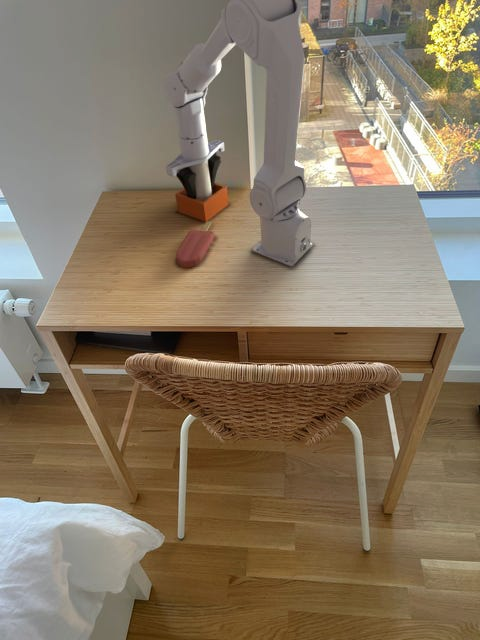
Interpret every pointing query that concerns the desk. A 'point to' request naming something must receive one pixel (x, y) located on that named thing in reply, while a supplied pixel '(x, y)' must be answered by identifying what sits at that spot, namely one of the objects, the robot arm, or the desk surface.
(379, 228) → the desk surface
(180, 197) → the orange open box
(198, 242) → the popsicle
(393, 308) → the desk surface
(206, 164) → the beverage can
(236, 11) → the robot arm
